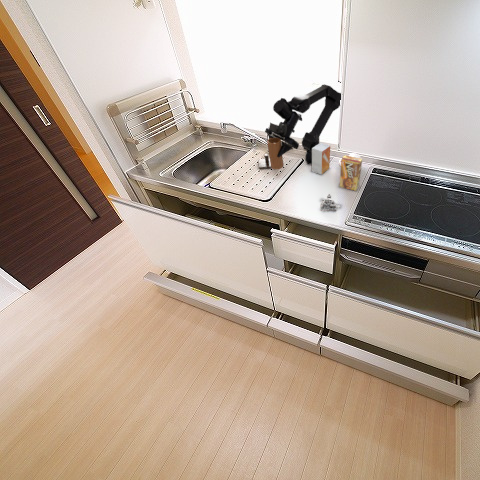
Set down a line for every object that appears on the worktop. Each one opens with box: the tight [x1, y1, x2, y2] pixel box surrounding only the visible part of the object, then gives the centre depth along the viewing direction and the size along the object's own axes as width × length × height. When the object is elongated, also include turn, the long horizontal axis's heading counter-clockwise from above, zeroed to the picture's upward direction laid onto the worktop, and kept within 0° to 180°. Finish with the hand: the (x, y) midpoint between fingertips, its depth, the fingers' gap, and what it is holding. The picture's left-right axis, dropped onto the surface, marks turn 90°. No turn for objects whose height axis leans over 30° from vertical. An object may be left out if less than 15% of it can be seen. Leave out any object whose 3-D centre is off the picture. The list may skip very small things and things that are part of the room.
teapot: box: [319, 193, 341, 212], centre depth 115 cm, size 9×9×8 cm
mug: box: [338, 152, 362, 168], centre depth 136 cm, size 12×9×8 cm
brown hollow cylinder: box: [266, 138, 284, 170], centre depth 124 cm, size 6×6×13 cm
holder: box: [258, 153, 272, 170], centre depth 141 cm, size 9×9×6 cm
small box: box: [311, 142, 331, 176], centre depth 135 cm, size 8×6×13 cm
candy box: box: [339, 155, 363, 192], centre depth 123 cm, size 9×4×15 cm, turn 68°
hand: (273, 154), depth 123 cm, fingers closed on brown hollow cylinder, 6 cm apart
